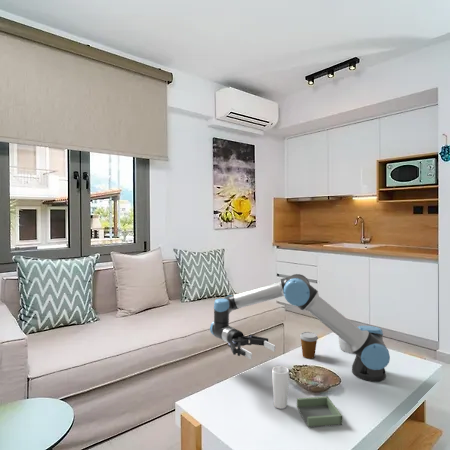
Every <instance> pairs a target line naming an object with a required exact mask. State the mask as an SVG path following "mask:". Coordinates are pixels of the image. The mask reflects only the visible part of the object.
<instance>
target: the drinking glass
mask: <svg viewBox="0 0 450 450" xmlns="http://www.w3.org/2000/svg"><path fill="white" fill-rule="evenodd" d="M271 370H272V373H271V382H272V394H273V395H272V397H273V405H274V407H275V408H276V409H279V410H280V409H281V410H283V409H286V407H287V406H288V396H289V395H288V392H289V384H290V371H289V368H288V367H286V366H283V365H277V366H274V367H272V369H271Z"/></svg>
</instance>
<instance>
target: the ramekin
mask: <svg viewBox="0 0 450 450" xmlns="http://www.w3.org/2000/svg"><path fill="white" fill-rule="evenodd" d="M338 344H339V345H338V346H339V348H340V350H341V351H343V352H344V353H347V354H354V353H353V352H352V351H351V348H350V345H349V344H348V343H346V342H345V341H344V340H343V339H342V338H340V337H339V336H338Z"/></svg>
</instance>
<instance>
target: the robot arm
mask: <svg viewBox="0 0 450 450" xmlns="http://www.w3.org/2000/svg"><path fill="white" fill-rule="evenodd" d="M319 295H320V294H319V291H318V290H317V289H316V288H315V287H314V286H312V285H311V284H310V281H309V279H308V277H306V276H305V275H303V274H300V273H299V274H298V273H296V274H292V275H289V276H286V277H283V278H280V280H279V281H277V282H275V283H270V284H267V285H264V286H261V287H257V288H254V289H250V290H246V291H243V292H240V293H237V294H234V295H231V294H229V295H227V296H225V297H224V298H218V299H217V298H216V299H215V300H214V303H213V304H214V305H213V319H214V320H213V321H212V322H211V324H210V326H209V331H210V333H211V334H212V335H213V336H214V337H215V338H218V339H220V340H222V341H223V342H226V343H228V348H230V350H231V352H232V354H233V355H234V356H235V355H237V357H240V356H243V357H245V358H247V359H248V360H253V352H251V351H249V350H247V349H246V348H243V347H244V346H252V345H255V346H263V347H264V348H265V349H268V350H270V351H272V352H273V353H274V352H276V345H275V344H273V343H271V342H269V338H267V337H262V336H256V335H253V334H249V335H247V336H246V335H244V333H243V332H242V331H241V330H239V329H237V328H234V327H232V326H231V325H229V323H230V313H231V312H232V311H235V310H239V309H242V308H246V307H250V306H253V305H257V304H260V303H264V302H268V301H270V300H275V299H278V298H282V297H284V299H285V300H286V302H287V303H289V304H290V305H291V306H295V307H297V308H299V309H300V310H301V311H302V312H303V311H304V312H305V311H308V312H309V314H311V315H312V316H314V317H315V319H317V320H319V321H320V323H322V324H323V325H325V327H327V328H328V329H329V330H330V331H332V332H333V333H334V334H335V335H337V336H338V337H340V338H342V339H343V340H344V341H345V342H346V343H348V344H349V345H350V348H351V351H352V352H353V353H352V354H354V355H355V356H354V357H355V358H354V360H353V362H352V365H351V366H352V367H351V373H352V374H353V375H354V376H355V377H356V378H359V379H361V380H363V381H368V382H382V381H384V380H385V379H386V378H387V371H386V367H387V366H388V365H389V363H390V359H391V358H390V357H391V356H390V351H389V349H388V348H387V346H386V344H385V342H384V340H383V338H384V337H383V336H384V333H383V332H384V331H383V329H382V328H380V327H378V326H377V327H376V326H372V325H358V326H357V325H356V324H354V323H353V322H352V321H351V320H350V319H348V318H347V317H345V316H344V314H342V313H341V312H339V311H338V310H337V309H336V308H334V307H333V306H332V305H331V304H329V302H327V301H326V300H324V299H323V298H322V297H321V296H319Z"/></svg>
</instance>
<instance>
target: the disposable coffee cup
mask: <svg viewBox="0 0 450 450" xmlns="http://www.w3.org/2000/svg"><path fill="white" fill-rule="evenodd" d="M299 338H300V344H301V351H302V358H304V359H309V360H310V359H314V358H315V357H316V356H315V355H316V349H317V343H318V339H319V337H318V334H317V333H315V332H311V331H303V332H301V333H300V335H299Z"/></svg>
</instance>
